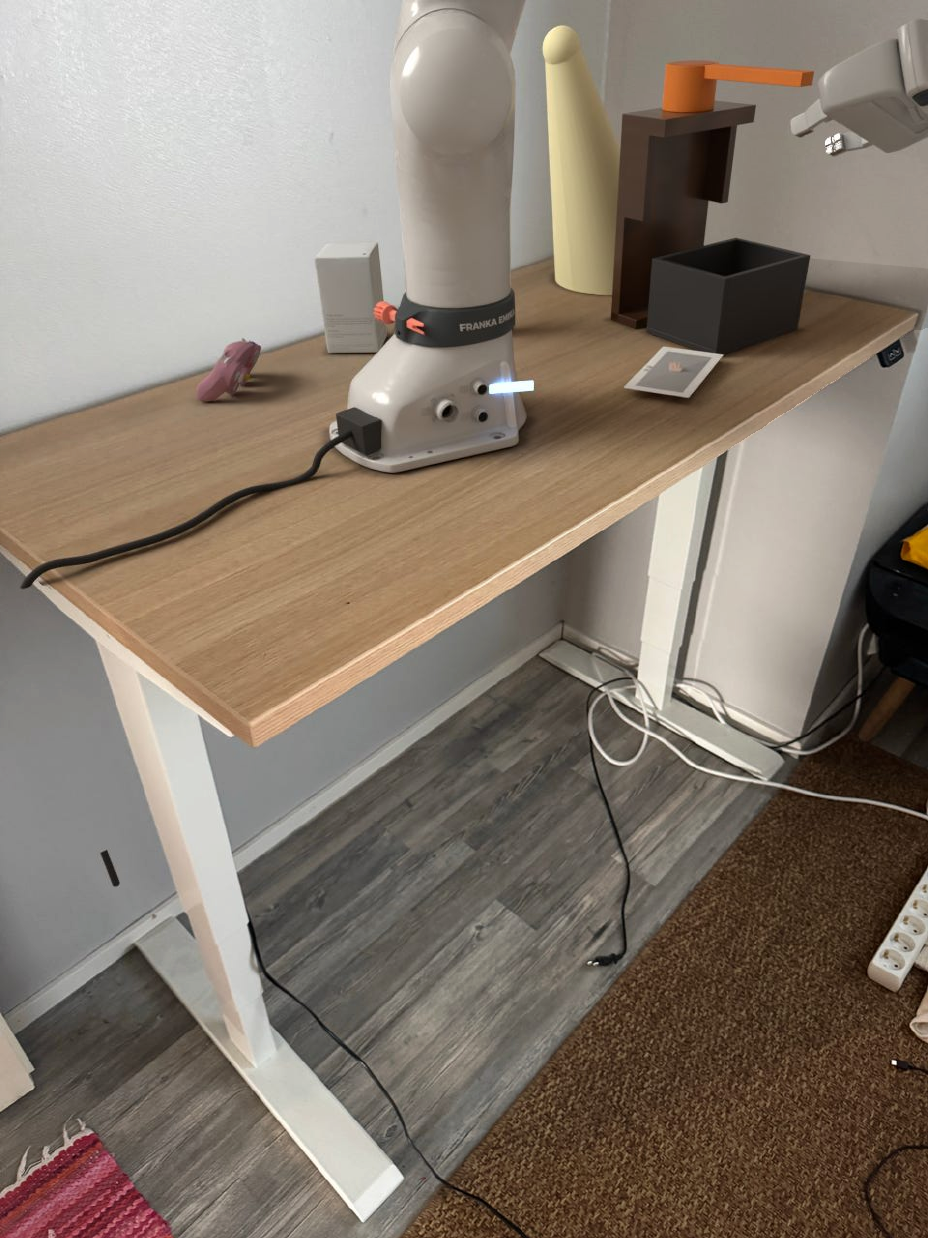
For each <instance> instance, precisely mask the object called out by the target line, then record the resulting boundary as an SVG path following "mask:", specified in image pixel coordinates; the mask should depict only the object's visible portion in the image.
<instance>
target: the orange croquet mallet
mask: <svg viewBox="0 0 928 1238" xmlns="http://www.w3.org/2000/svg"><path fill="white" fill-rule="evenodd" d="M664 72H665V73H664V84H663V85H664V86H663V96H662V107H661V108H662V109H663V110H665V111H669V112H704V111H710V110H712V109H714V102H715V101H716V94H717V93H716V92H717V85H718V84H717V83H718V81H727V82H737V83H738V82H739V83H750V84H761V85H772V86H783V87H794V88H803V87H811V86H813V80H814V76H815V71H814V70H805V69H791V68H778V67H764V66H763V67H762V66H750V65H736V64H724V63H723V64H722V63H720V62H718V61H714V60H700V59H699V60H696V59H695V60H677V61H670V62H667V63H666V64H665V71H664Z"/></svg>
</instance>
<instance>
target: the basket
mask: <svg viewBox="0 0 928 1238" xmlns="http://www.w3.org/2000/svg"><path fill="white" fill-rule="evenodd" d="M811 256H812V255H811V254H807V253H804V252H799V251H794V250H791V249H786V248H782V247H778V246H774V245H770V244H765V243H760V242H757V241H752V240H748V239H745V238H744V239H743V238H740V237H734V238H729V239H725V240H721V241H717V242H713V243H709V244H704V246H700V247H697V248H693V249H689V250H685V251H681V252H677V253H673V254H669V255H665V256H661V257H657V258H653V259H652V268H651V281H650V293H649V306H648V318H647V326H646V334H650V335H652V336H654V337H657V338H661V339H663V340H666V341H669V342H671V343H673V344H676V345H677V344H678V345H681V346H683V347H685V348H689V349H690V350H693V351H700V352H708V353H715V354H723V356H724V355H727V354H730V353H733V352H736V351H738V350H741V349H744V348H747V347H750V346H753V345H757V344H760V343H763V342H765V341H769V340H772V339H775V338H778V337H781V336H784V335H786V334H787V335H788V334H790V333H792V332H795V331H798V329H799V323H800V318H801V311H802V306H803V300H804V295H805V289H806V284H807V278H808V273H809V268H810V262H811V261H810V260H811Z"/></svg>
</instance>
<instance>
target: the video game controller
mask: <svg viewBox="0 0 928 1238" xmlns="http://www.w3.org/2000/svg"><path fill="white" fill-rule="evenodd" d="M261 351H262V346H261V345H259V344H258V343H256V342H254V341H253V340H252V341H251V340H246V339H245V338H244V337H242V338H241V340H239V341H238V340H237V341H234V342H231V343H229V344H227V346H225V348H224V350H223V353H222V355H221V356H220V357H219V358H218V360H217V362H216V363H215V364H214V366H213V368H212V370H211V371H210V372H209V373H208V375H207V376H206V377H204V378H203V379H202V380H201V381H199V383H198V385H197V387H196V388H195V395H196V397H197V399H198V400H199V401H201V402H204V403H207V402H211V401H215V400H216V399H218V398H220V397H221V396H222V395H223V394H224V393H227V394H229V395H231V396H233V395H235V393H236V392H237V390H238V388H239V386H240V385H241V386H244V385H245V384H246V383H247V382H248V381H249V380H250V378H251V376H250V374H251V373H252V370H253V369H254V367H255V365H256V364H257V362H258V360H259V358H260V355H261Z"/></svg>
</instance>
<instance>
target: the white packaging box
mask: <svg viewBox="0 0 928 1238" xmlns="http://www.w3.org/2000/svg"><path fill="white" fill-rule="evenodd" d="M379 249H380V248H379V242H377V241H372V242H371V241H370V242H338V243H337V242H335V243H330V242H329V243H328V242H327V243H325V244H324V246H323V247H322V248H321V249H320V250H319V252H318V253H317V254H316V255H315V257H313V260H314V267H315V273H316V280H317V285H318V286H317V288H318V295H319V301H320V308H321V316H322V323H323V330H324V331H323V332H324V337H325V344H326V350H327V354H365V353H368V354H369V353H371V354H372V353H374V354H376V353H377V352H378V351H379V350H380V349H381V348H382V347H383V346H384V344H385V340H386V339H387V336H388V331H387V324H386V323H384V322H382V321H379V320H377V319H378V318H375V314H374V312H375V310H374V308H376V307H378V306H376V304H377V303H379V302H381V301H384V300H385V299H384V290H383V279H382V269H381V261H380V250H379ZM384 302H385V301H384Z"/></svg>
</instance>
